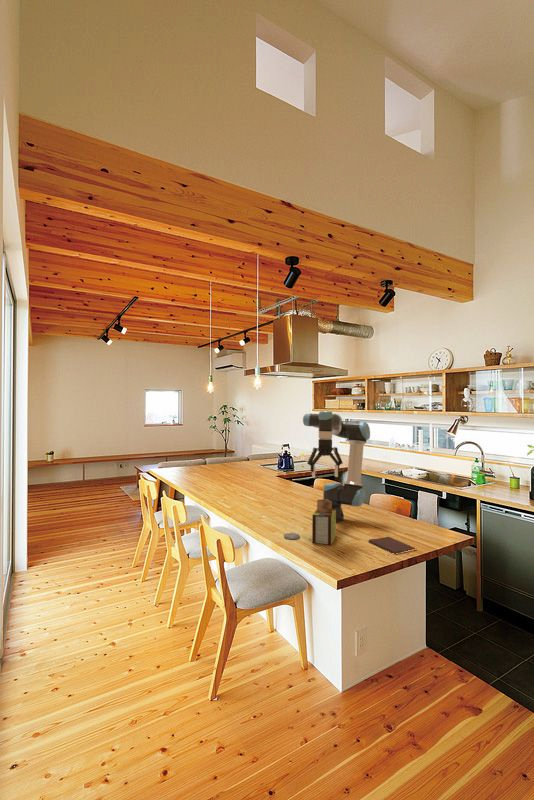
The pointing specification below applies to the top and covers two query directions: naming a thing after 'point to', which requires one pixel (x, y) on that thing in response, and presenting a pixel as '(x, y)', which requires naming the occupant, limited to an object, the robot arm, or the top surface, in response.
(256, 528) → the top surface
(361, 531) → the top surface
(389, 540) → the notebook
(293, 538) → the slate coaster
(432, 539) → the top surface
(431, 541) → the top surface
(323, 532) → the protein box
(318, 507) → the walnut block
